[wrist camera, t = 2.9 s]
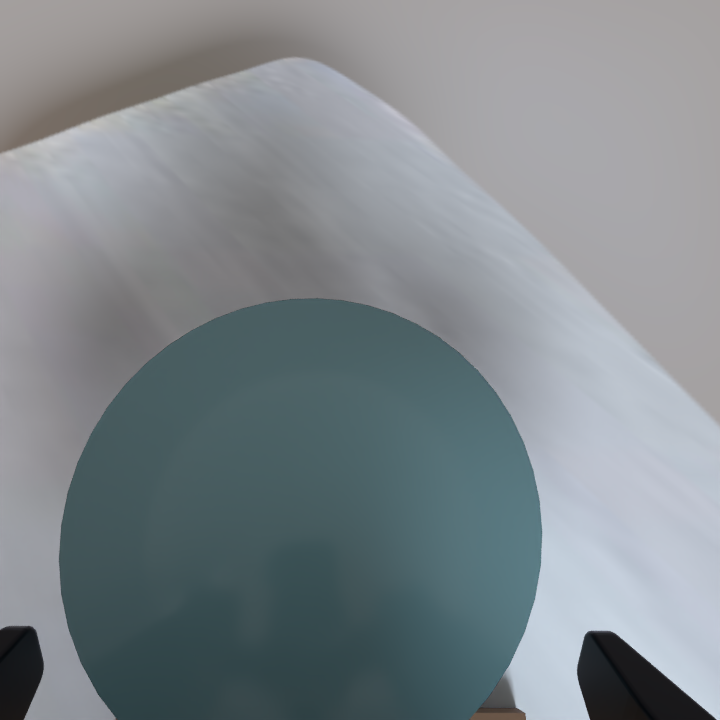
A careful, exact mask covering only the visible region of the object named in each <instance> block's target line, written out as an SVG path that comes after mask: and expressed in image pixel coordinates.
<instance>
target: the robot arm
mask: <svg viewBox="0 0 720 720" xmlns="http://www.w3.org/2000/svg"><path fill="white" fill-rule="evenodd" d="M43 669H44V662H43V657H42V653H41V649H40V645H39V641H38V636H37V632H36V630H35V629H34V628H33V627H31V626H8V627H5V628H3V629H1V630H0V720H24V718H25V716H26V713H27V711H28V709H29V707H30V704H31V702H32V700H33V697H34V695H35V693H36V690H37V688H38V686H39V683H40V681H41V678H42V675H43ZM577 675H578V681H579V685H580V688H581V691H582V695H583V698H584V701H585V705H586V708H587V711H588V714H589V718H590V720H716V719H715V718H714V717H713V716H712V715H711V714H709V713H708V712H707V711H706V710H705V709H704V708H702V707H701V706H700V705H699V704H698V703H696V702H695V701H694V700H693V699H692V698H691V697H689V696H688V695H687V694H686V693H685V692H684V691H682V690H681V689H680V688H679V687H678V686H677V685H675V684H674V683H673V682H672V681H671V680H669V679H668V678H667V677H666V676H665V675H664V674H662V673H661V672H660V671H659V670H658V669H657V668H655V667H654V666H653V665H652V664H651V663H650V662H648V661H647V660H646V659H645V658H644V657H642V656H641V655H640V654H639V653H638V652H637V651H635V650H634V649H633V648H632V647H631V646H630V645H628V644H627V643H626V642H625V641H624V640H623V639H621V638H620V637H619V636H618V635H616V634H615V633H613V632H611V631H588V632H587V633H586V634H585V637H584V640H583V645H582V649H581V653H580V657H579V662H578V666H577Z"/></svg>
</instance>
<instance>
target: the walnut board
mask: <svg viewBox="0 0 720 720" xmlns="http://www.w3.org/2000/svg"><path fill="white" fill-rule="evenodd" d="M116 720H117V718H116ZM469 720H526V716H525V713H524V712H522V711H521V710H519V709H517V708H479V709H478V710H477V711H476V712H475V713H474V714H473V716H472V717H471V718H470V719H469Z"/></svg>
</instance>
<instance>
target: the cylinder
mask: <svg viewBox="0 0 720 720" xmlns="http://www.w3.org/2000/svg"><path fill="white" fill-rule="evenodd" d="M541 546H542V525H541V513H540V501H539V496H538V491H537V486H536V482H535V477H534V472H533V468H532V466H531V463H530V460H529V457H528V454H527V451H526V448H525V445H524V442H523V440H522V438H521V436H520V434H519V432H518V430H517V428H516V426H515V424H514V421H513V419H512V417H511V415H510V414H509V412H508V411H507V409H506V408H505V406H504V404H503V403H502V401H501V400H500V398H499V397H498V395H497V394H496V392H495V391H494V390H493V388H492V387H491V386H490V385H489V384H488V382H487V381H486V380H485V379H484V377H483V376H482V375H481V374H480V373H479V371H478V370H477V369H476V368H474V367H473V366H472V365H471V364H470V363H469V362H468V361H467V360H466V359H465V358H464V357H463V356H462V355H461V354H460V353H459V352H457V351H456V350H455V349H454V348H452V347H451V346H450V345H448V344H447V343H446V342H444V341H443V340H442V339H440V338H439V337H438V336H436V335H434V334H433V333H431V332H429V331H427V330H426V329H424V328H422V327H421V326H419V325H417V324H416V323H413V322H411V321H409V320H407V319H404V318H402V317H400V316H398V315H395V314H393V313H390V312H387V311H384V310H381V309H378V308H374V307H371V306H368V305H363V304H358V303H353V302H348V301H342V300H330V299H318V298H316V299H290V300H282V301H275V302H268V303H263V304H259V305H255V306H251V307H247V308H243V309H240V310H237V311H234V312H232V313H229V314H226V315H224V316H221V317H218V318H216V319H214V320H212V321H210V322H208V323H206V324H204V325H202V326H200V327H198V328H196V329H194V330H192V331H190V332H189V333H187V334H185V335H184V336H182V337H181V338H179V339H178V340H176V341H175V342H173V343H171V344H170V345H168V346H167V347H166V348H165V349H163V350H162V351H161V352H160V353H158V354H157V355H156V356H155V357H154V358H152V359H151V360H150V361H149V362H147V363H146V364H145V365H144V366H143V367H142V368H141V369H140V370H139V371H138V372H137V373H136V374H135V375H134V376H133V377H132V378H131V379H130V380H129V381H128V382H127V383H126V385H125V386H124V387H123V388H122V390H121V391H120V392H119V393H118V395H117V396H116V397H115V398H114V400H113V401H112V402H111V404H110V405H109V406H108V407H107V409H106V411H105V412H104V414H103V415H102V417H101V419H100V420H99V422H98V423H97V425H96V427H95V428H94V430H93V432H92V433H91V435H90V437H89V439H88V442H87V444H86V446H85V448H84V450H83V452H82V454H81V457H80V459H79V461H78V463H77V466H76V469H75V472H74V475H73V478H72V481H71V485H70V488H69V491H68V494H67V499H66V504H65V509H64V514H63V519H62V525H61V538H60V553H59V566H60V581H61V595H62V599H63V604H64V609H65V614H66V619H67V624H68V629H69V631H70V634H71V637H72V640H73V642H74V645H75V648H76V651H77V653H78V656H79V659H80V662H81V664H82V666H83V667H84V669H85V671H86V673H87V675H88V677H89V678H90V680H91V682H92V684H93V686H94V688H95V689H96V691H97V693H98V695H99V696H100V697H101V699H102V700H103V701H104V703H105V704H106V705H107V707H108V708H109V709H110V710H111V712H112V713H113V714H114V716H115V717H116V718H117V720H469V719H470V718H471V717H472V716H473V714H474V713H475V712H476V711H477V710H478V709H479V707H480V706H481V705H482V704H483V703H484V702H485V701H486V699H487V698H488V697H489V696H490V694H491V693H492V691H493V690H494V688H495V687H496V685H497V683H498V682H499V680H500V679H501V677H502V676H503V674H504V672H505V671H506V669H507V668H508V666H509V665H510V662H511V660H512V658H513V656H514V654H515V652H516V649H517V647H518V645H519V643H520V641H521V639H522V637H523V634H524V632H525V629H526V626H527V623H528V619H529V616H530V613H531V610H532V606H533V603H534V600H535V595H536V589H537V584H538V578H539V572H540V566H541Z"/></svg>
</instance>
